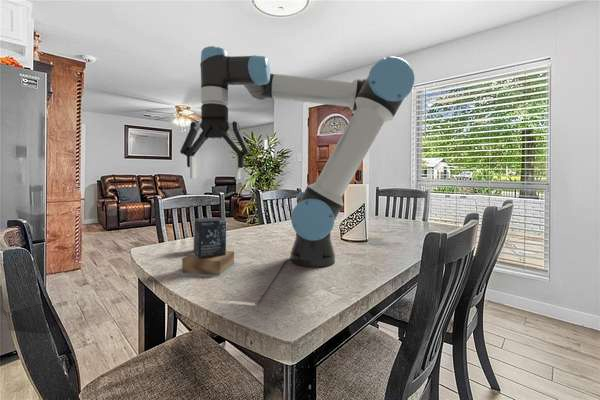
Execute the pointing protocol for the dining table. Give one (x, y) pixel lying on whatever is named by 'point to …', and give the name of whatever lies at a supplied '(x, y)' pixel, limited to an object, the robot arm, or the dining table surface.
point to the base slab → (207, 264)
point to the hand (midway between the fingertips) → (215, 179)
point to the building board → (209, 274)
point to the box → (210, 237)
